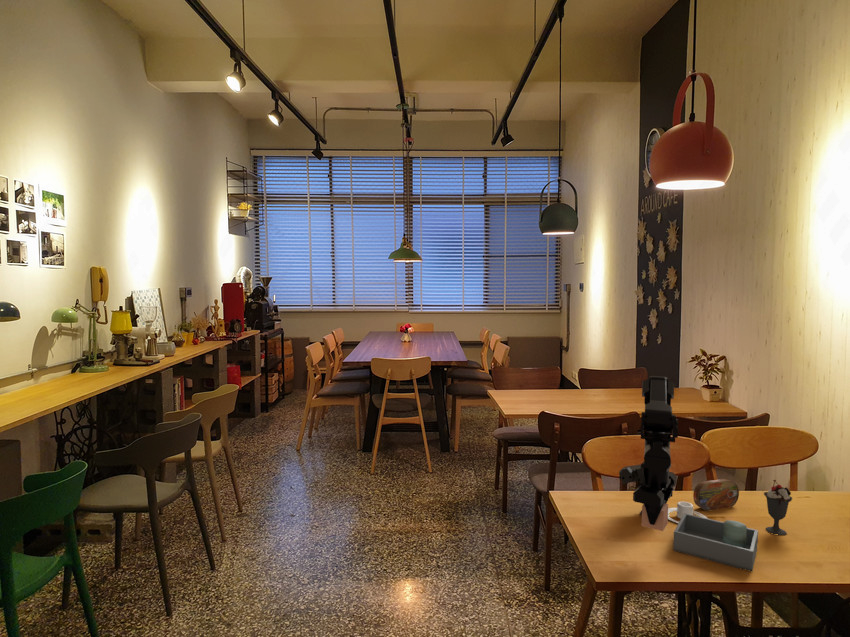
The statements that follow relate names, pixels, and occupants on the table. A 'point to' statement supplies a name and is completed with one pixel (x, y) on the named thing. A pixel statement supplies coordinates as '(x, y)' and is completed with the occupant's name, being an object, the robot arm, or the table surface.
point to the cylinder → (734, 533)
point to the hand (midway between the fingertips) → (654, 520)
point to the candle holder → (683, 510)
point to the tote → (713, 542)
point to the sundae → (777, 506)
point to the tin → (716, 494)
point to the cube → (660, 521)
